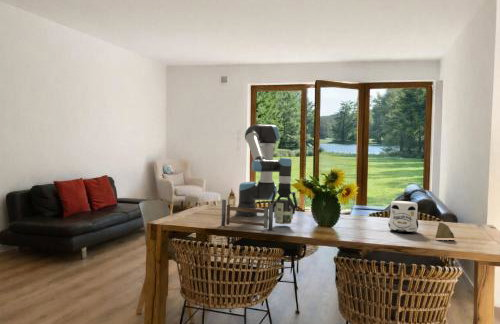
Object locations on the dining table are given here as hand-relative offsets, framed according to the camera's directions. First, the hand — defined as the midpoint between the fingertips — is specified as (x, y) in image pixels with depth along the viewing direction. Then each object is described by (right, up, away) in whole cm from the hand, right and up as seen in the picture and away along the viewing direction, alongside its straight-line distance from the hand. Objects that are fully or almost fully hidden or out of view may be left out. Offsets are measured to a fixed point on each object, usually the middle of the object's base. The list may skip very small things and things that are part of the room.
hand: (283, 218), depth 263 cm
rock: (+90, -10, -24) cm, 93 cm away
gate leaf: (-23, -4, -7) cm, 24 cm away
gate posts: (-23, -5, -7) cm, 25 cm away
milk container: (+73, -8, -3) cm, 74 cm away
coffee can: (0, -3, 0) cm, 3 cm away
